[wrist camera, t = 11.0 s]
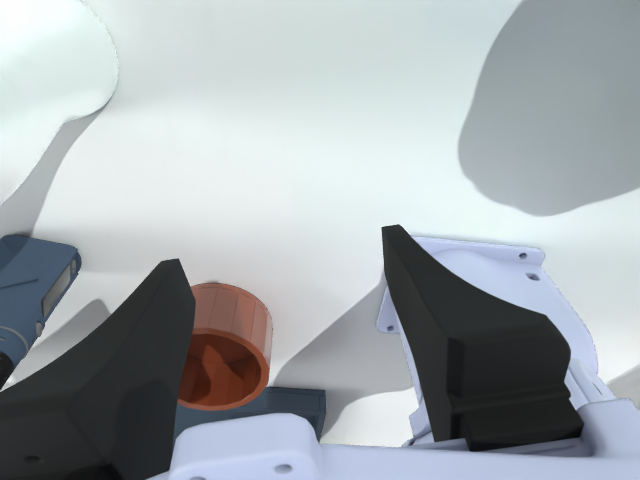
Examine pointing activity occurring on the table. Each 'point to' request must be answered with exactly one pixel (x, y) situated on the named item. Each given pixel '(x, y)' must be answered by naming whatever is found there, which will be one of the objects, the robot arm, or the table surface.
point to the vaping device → (30, 292)
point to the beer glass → (48, 78)
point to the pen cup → (226, 349)
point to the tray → (261, 409)
